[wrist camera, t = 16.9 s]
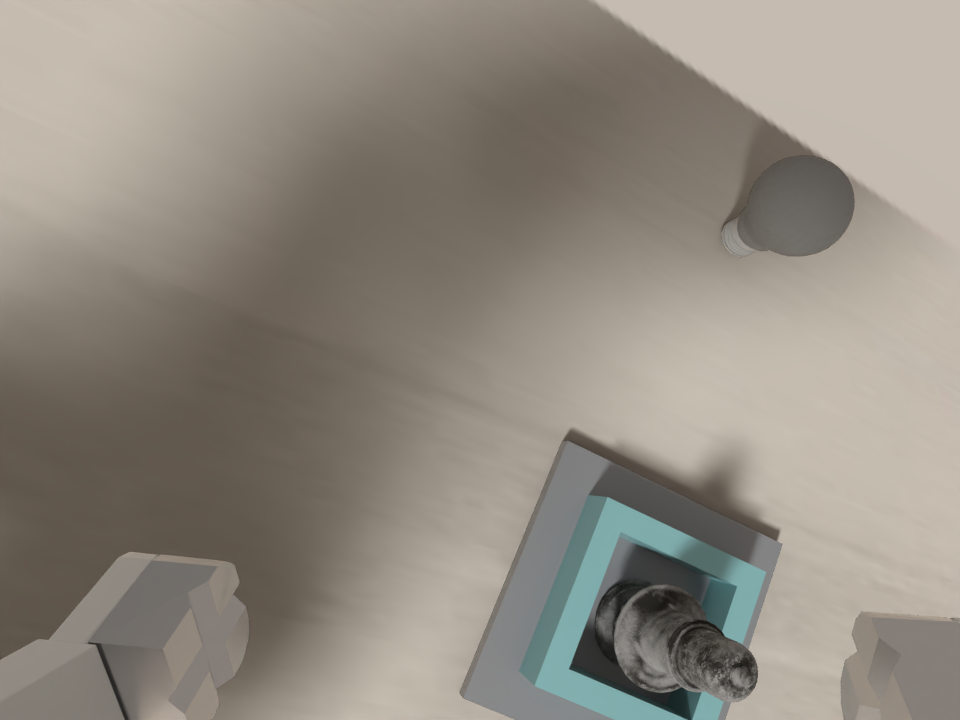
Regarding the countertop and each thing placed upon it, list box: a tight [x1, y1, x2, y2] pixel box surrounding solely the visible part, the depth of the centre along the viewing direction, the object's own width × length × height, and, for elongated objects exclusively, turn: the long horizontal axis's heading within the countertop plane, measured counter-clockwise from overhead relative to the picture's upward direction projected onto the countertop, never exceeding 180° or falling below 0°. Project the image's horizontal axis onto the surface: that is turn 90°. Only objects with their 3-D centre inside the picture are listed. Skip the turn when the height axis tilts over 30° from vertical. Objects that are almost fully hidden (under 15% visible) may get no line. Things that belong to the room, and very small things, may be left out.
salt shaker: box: [594, 579, 758, 702], centre depth 40 cm, size 6×6×12 cm
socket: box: [460, 441, 782, 720], centre depth 45 cm, size 16×16×4 cm
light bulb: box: [722, 155, 854, 257], centre depth 47 cm, size 6×6×10 cm
